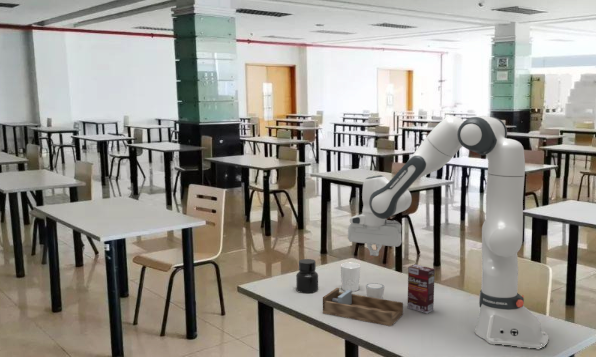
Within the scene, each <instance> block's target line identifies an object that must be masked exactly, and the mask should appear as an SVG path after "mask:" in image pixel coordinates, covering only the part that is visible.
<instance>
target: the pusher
mask: <svg viewBox="0 0 596 357" xmlns="http://www.w3.org/2000/svg"><path fill="white" fill-rule="evenodd" d="M352 294H353V293H352V290H347V291H344V292H343V294H341V295H340V296H338V299H337V298H333V299H332V302H336V303H341V304H347V305H351V304H352Z"/></svg>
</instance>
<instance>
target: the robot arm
mask: <svg viewBox="0 0 596 357" xmlns="http://www.w3.org/2000/svg"><path fill="white" fill-rule="evenodd" d="M507 136H508V129H507V125H506V124H505V122H503V120H501V119H500V118H499V117H496V116H486V115H478V116H473V117H469V118H468V119H465V120H463V118H461V117H459V116H457V115H456V116H455V115H449V116H446V117H445V118H443V119H442V120H441V121H440V122H438V124H437V125H436V126H434V127H433V129H432V130H431V131H430V132H429V133H428V134H427V136H426V137H425V138H424V140H423V141H422V142H420V145H419V146H418V148H416V149H415V150H416V151H414V153H413V154H412V155H411V157H409V159H408V160H407V162H405V164H404V165H403V166H402V167H401V168H400V169H399V170H398V171H397V173H395V174H394V176H393V177H392V178H391V179H390V180H389V179H388V178H386V176H385V175H381V174H380V175H374V176H368V177H366V178H365V179H364V180H363V184H362V191H361V192H362V193H361V196H362V198H361V199H362V205H363V206H362V210H361V211H362V213H360V214H359V213H358V214H356V215H353V216H351V217H350V218H349V225H348V228H347V240H348V241H349V243H350V242H351V243H359V244H366V247H367V249H368V251H369V256H372V257H373V256H374V257H379V255H380V250H381V249H382V247H383V246H385V247H386V246H387V247H395V248H396V247H397V248H398V247H400V246H401V245H402V242H403V240H402V227H403V226H402V224H401V223H400V222H399V221H398V220H388V218H390V217H393V216H394V215H397V214H399V213H402V212H404V211H406V210H408V209H409V208H410V207H411V205H412V201H413V198H412V193H411V191H410V190H409V189H410V188H411V187H412V185H413V184H415V182H417V181H418V180H419V179H421V178H423V177H425V176H427V175H429V174H431V173H435V172H436V171H439V170H440V169H441V168H443V167H444V166H445V165H447V164H448V162H449V163H450V161H451V160H452V159H453V157H454V156H455V155H456V154H457V153H458V152H459V150H460V149H461V148H464V149H465V150H466V149H467V150H468V151H471V152H473V153H476V154H479V155H481V156H486V158H487V161H488V162H487V165H488V166H487V177H486V178H487V179H486V191H485V192H486V193H485V220H484V222H483V224H482V226H481V259H482V260H481V270H482V271H481V289H480V290H479V298H478V299H479V300H478V304H479V312H478V318H477V322H476V325H475V329H474V333H475V334H476V336H478V337H480V338H481V339H483V340H485V341H486V342H487V343H488V344H490V345H495V344H502V345H501V346H504V345H512V346H517V347H516V348H521V347H530V348H540V347H543V346H544V345H545V344H546V343H547V342H548V343H549V341H548V338H549V335H548V333H547V332H545V330H544V331H543V330H542V325H541V321H540V319H539V317H538V316H536V315H535V314H534V313H533V312H532V311H531V310H529V309H528V308H527V307H526V306H524V304H525V302H524V300H525V298H524V297H525V296H524V294H522V295H521V293H518V285H519V266H518V265H519V264H518V262H519V261H518V252H519V251H520V249H522V244H523V231H524V230H523V229H524V210H523V209H524V205H523V204H524V203H523V202H524V201H523V200H524V188H525V187H524V186H525V174H526V160H525V149H524V146H523V145H522V143H521V142H520V141H518V140H516V139H512V138H507ZM373 245H376V246H375V247H376V249H374V248H373ZM541 344H542V345H541ZM512 346H511V347H512ZM530 348H529V349H530Z"/></svg>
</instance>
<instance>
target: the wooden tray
mask: <svg viewBox="0 0 596 357" xmlns="http://www.w3.org/2000/svg"><path fill="white" fill-rule="evenodd" d="M343 293H344V292H342V291H340V287H336V288H334V289H333V290H331V291H330V292H329V293H326V294H325V295H324V296H322V314H325V315H330V316H335V317H341V318H346V319H352V320H358V321H361V322H368V323H373V324H379V325H384V326H388V327H392V326H393V325H394V324H395V323H396V322H398V320H399V319H400V318H401V317H402V316H403V314H404V303H403V302H401V301H396V300H389V299H384V298H383V299H379V298H373V297H367V295H360V294H355V293H352V304H351V305H347V304H341V303H336V302H332V299H333V298H337V299H338V296H340V295H341V294H343Z"/></svg>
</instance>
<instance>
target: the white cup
mask: <svg viewBox="0 0 596 357" xmlns="http://www.w3.org/2000/svg"><path fill="white" fill-rule="evenodd" d="M340 278H341V280H340V281H341V289H342V291H344V292H345V291H347V290H352V292H357V291H359V289H360V279H361V264H359V263H357V262H343V263H341V264H340Z"/></svg>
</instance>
